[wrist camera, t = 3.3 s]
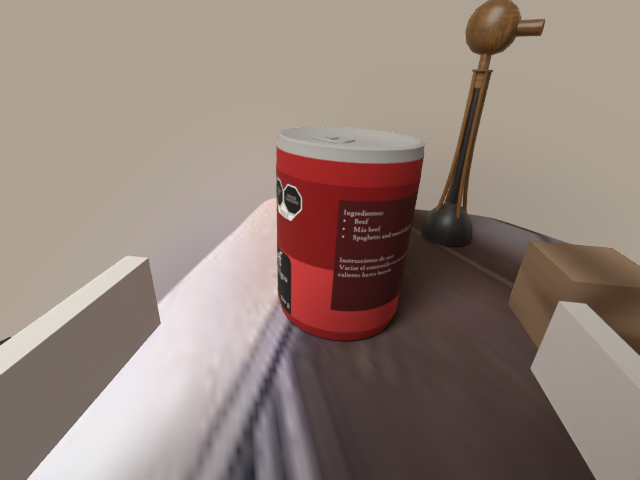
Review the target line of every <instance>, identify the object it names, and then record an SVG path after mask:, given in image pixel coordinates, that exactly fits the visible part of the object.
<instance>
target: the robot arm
mask: <svg viewBox="0 0 640 480" xmlns="http://www.w3.org/2000/svg"><path fill="white" fill-rule="evenodd" d="M160 324H161V323H160V317H159V312H158V307H157V302H156V296H155V291H154V286H153V281H152V275H151V270H150V265H149V260H148V258H143V257H134V256H126V257H124V258H123V259H122V260H120V261H119V262H117V263H116V264H114V266H112V267H110V268H109V269H107V270H106V271H105V272H103V273H102V274H100V275H99V276H98V277H96V278H95V279H93V280H92V281H91V282H89V283H88V284H86V285H85V286H84V287H82V288H81V289H79V290H78V291H76V292H75V293H74V294H72V295H71V296H69V297H68V298H67V299H65V300H64V301H62V302H61V303H60V304H58V305H57V306H55V307H54V308H53V309H51V310H50V311H49V312H47V313H46V314H44V315H43V316H41V317H40V318H39V319H37V320H36V321H34V322H33V323H31V324H30V325H29V326H27V327H26V328H24V329H23V330H22V331H20V332H19V333H17V334H16V335H15V336H13V337H9V338H7V339H5V340H2V341H0V480H27V478H28V477H29V476H30V475H31V474H32V473H33V471H34V470H35V469H36V468H37V467H38V466H39V464H40V463H41V462H42V461H43V460H44V459H45V457H46V456H47V455H48V454H49V453H50V452H51V450H52V449H53V448H54V447H55V446H56V445H57V443H58V442H59V441H60V440H61V439H62V438H63V437H64V435H65V434H66V433H67V432H68V431H69V430H70V428H71V427H72V426H73V425H74V424H75V423H76V421H77V420H78V419H79V418H80V417H81V416H82V414H83V413H84V412H85V411H86V410H87V409H88V407H89V406H90V405H91V404H92V403H93V402H94V400H95V399H96V398H97V397H98V396H99V395H100V393H101V392H102V391H103V390H104V389H105V388H106V387H107V385H108V384H109V383H110V382H111V381H112V380H113V378H114V377H115V376H116V375H117V374H118V373H119V371H120V370H121V369H122V368H123V367H124V366H125V364H126V363H127V362H128V361H129V360H130V359H131V357H132V356H133V355H134V354H135V353H136V352H137V350H138V349H139V348H140V347H141V346H142V345H143V343H144V342H145V341H146V340H147V339H148V338H149V336H150V335H151V334H152V333H153V332H154V331H155V330H156V328H157V327H158V326H159V325H160ZM530 369H531V371H532V372H533V374H534V376H535V377H536V379H537V381H538V382H539V384H540V386H541V387H542V389H543V391H544V392H545V394H546V396H547V398H548V399H549V401H550V403H551V404H552V406H553V408H554V409H555V411H556V413H557V414H558V416H559V418H560V419H561V421H562V423H563V425H564V426H565V428H566V430H567V431H568V433H569V435H570V436H571V438H572V440H573V441H574V443H575V445H576V446H577V448H578V450H579V452H580V453H581V455H582V457H583V458H584V460H585V462H586V463H587V465H588V467H589V468H590V470H591V472H592V473H593V475H594V477H595V478H596V480H640V356H639V355H638V354H637V353H636V352H635V351H634V350H633V349H632V348H631V347H630V346H629V345H628V344H627V343H626V342H625V341H624V340H623V339H622V338H621V337H620V336H619V335H618V334H617V333H616V332H615V331H614V330H612V329H611V328H610V327H609V326H608V325H607V324H606V323H605V322H604V321H603V320H602V319H601V318H600V317H599V316H598V315H597V314H596V313H595V312H594V311H593V310H592V309H591V308H590V307H589V306H588V305H587V304H584V303H574V302H565V301H559V302H558V305H557V307H556V309H555V312H554V314H553V316H552V319H551V321H550V324H549V326H548V328H547V331H546V333H545V335H544V338H543V340H542V342H541V345H540V347H539V349H538V352H537V354H536V356H535V359H534V361H533V364H532V366H531V368H530Z"/></svg>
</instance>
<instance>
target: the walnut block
mask: <svg viewBox="0 0 640 480" xmlns="http://www.w3.org/2000/svg"><path fill="white" fill-rule="evenodd" d="M559 301H565V302H574V303H584V304H587V305H588V306H589V307H590V308H591V309H592V310H593V311H594V312H595V313H596V314H597V315H598V316H599V317H600V318H601V319H602V320H603V321H604V322H605V323H606V324H607V325H608V326H609V327H610V328H611V329H612V330H614V331H615V332H616V333H617V334H618V335H619V336H620V337H621V338H622V339H623V340H624V341H625V342H626V343H627V344H628V345H629V346H630V347H631V348H632V349H633V350H634V351H635V352H636V353H637V354H638V355H639V356H640V266H639V265H637V264H636V263H634V262H633V261H631V260H630V259H628V258H626V257H625V256H623V255H622V254H620V253H619V252H617V251H616V250H614V249H613V248H605V247H594V246H583V245H572V244H560V243H549V242H538V241H529V243H528V246H527V249H526V252H525V255H524V258H523V261H522V263H521V266H520V269H519V272H518V275H517V278H516V281H515V284H514V287H513V289H512V292H511V295H510V298H509V301H508V305H509V306H510V308H511V309H512V311H513V312H514V314H515V315H516V317H517V318H518V320H519V321H520V323H521V324H522V326H523V327H524V329H525V330H526V332H527V333H528V335H529V336H530V338H531V339H532V341H533V342H534V344H535V345H536V347H537V348H538V349H539V347H540V345H541V342H542V340H543V338H544V335H545V333H546V331H547V328H548V326H549V324H550V321H551V319H552V316H553V314H554V312H555V309H556V307H557V305H558V302H559Z"/></svg>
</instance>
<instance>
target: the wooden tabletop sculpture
mask: <svg viewBox="0 0 640 480" xmlns="http://www.w3.org/2000/svg"><path fill="white" fill-rule="evenodd" d="M544 24H545V19H536V20H521V15H520V12H519V8H518V7H517V6H516V5H515V4H514V3H513V2H512V1H511V0H489V1H487V2H485V3H484V4H483V5H481V6H480V7H478V8H477V9H476V10H475V12H474V13H473V15H472V16H471V17H470V19H469V21H468V25H467V28H466V43H467V44H468V46H469V47H470V49H471V51H472V52H474V53H476V54H479V55H481V57H480V61H479V66H478V69H477V70H472V71H473V77H472V81H471V87H470V91H469V96H468V100H467V105H466V110H465V114H464V118H463V123H462V127H461V131H460V136H459V140H458V145H457V148H456V152H455V156H454V159H453V163H452V166H451V170H450V173H449V176H448V180H447V183H446V186H445V189H444V191H443V194H442V196H441V199H440V201H439V204H438V206H437V207H436V208H434V209H433V210H432V211H430V212H429V214H428V215H427V216H426V218H425V221H424V223H423V228H422V236H423V237H424V238H426V239H427V240H429V241H430V242H433V243H436V244H440V245H443V246H453V247H462V246H465V245H467V244H470V242H471V238H472V225H471V220H470V217H469V215H468V214H467V210H466V205H467V190H468V182H469V174H470V168H471V162H472V157H473V151H474V146H475V141H476V136H477V131H478V127H479V123H480V118H481V114H482V110H483V105H484V102H485V97H486V93H487V89H488V85H489V80H490V76H491V72H493V70H488V68H489V64H490V59H491V55H494V54H497V53H500V52H503V51H504V50H505V49H506V48H507V47H509V46H510V45H511V44H512V43H513V41H514V40H515V38H516V36H541V34H542V31H543V28H544ZM450 183H451V184H450ZM449 186H450V187H449ZM448 189H449V191H448ZM463 189H464V191H463ZM447 192H448V194H447ZM446 194H447V197H446V200H445V203H444V204H443V201H444V199H445V196H446ZM462 194H463V208H462V207H461V201H462Z"/></svg>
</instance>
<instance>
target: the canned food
mask: <svg viewBox="0 0 640 480" xmlns="http://www.w3.org/2000/svg"><path fill="white" fill-rule="evenodd" d="M424 145H425V143H424V142H422V141H421V140H419V139H417V138H415V137H411V136H408V135H403V134H398V133H392V132H385V131H378V130H369V129H357V128H342V127H301V128H292V129H287V130H283V131H281V132H279V133H278V142H277V164H276V175H277V176H276V179H277V180H276V182H277V261H278V297H279V301H280V304H281V307H282V309H283V312H284V313H285V315H286V317H287V318H288V319H289V320H290V321H291V322H292V323H293V324H294V325H295V326H297V327H298V328H300V329H301V330H303V331H305V332H307V333H309V334H312V335H314V336H318V337H321V338H325V339H331V340H338V341H351V340H359V339H364V338H367V337H371V336H373V335H375V334H377V333H379V332H381V331H382V330H383V329H384V328H385V327H386V326H387V325H388V323H389V322H390V320H391V319H392V317H393V315H394V314H395V312H396V309H397V304H398V298H399V293H400V287H401V282H402V276H403V271H404V265H405V260H406V255H407V249H408V244H409V238H410V233H411V227H412V222H413V216H414V211H415V205H416V200H417V194H418V189H419V183H420V178H421V169H422V164H423V158H424Z"/></svg>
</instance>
